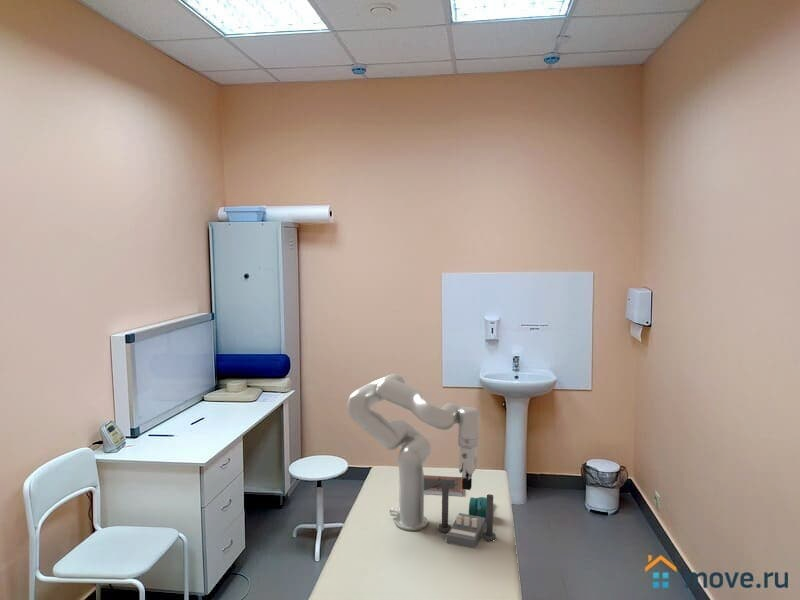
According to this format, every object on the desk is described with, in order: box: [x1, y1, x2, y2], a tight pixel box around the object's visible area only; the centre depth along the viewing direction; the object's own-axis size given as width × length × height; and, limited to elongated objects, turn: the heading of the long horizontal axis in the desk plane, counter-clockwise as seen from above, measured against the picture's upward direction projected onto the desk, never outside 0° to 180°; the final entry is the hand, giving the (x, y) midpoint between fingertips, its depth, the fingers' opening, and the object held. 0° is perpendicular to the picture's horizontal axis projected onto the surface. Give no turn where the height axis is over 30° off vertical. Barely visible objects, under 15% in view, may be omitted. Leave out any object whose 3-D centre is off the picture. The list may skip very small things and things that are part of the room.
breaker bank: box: [455, 514, 478, 528], centre depth 209 cm, size 8×1×3 cm, turn 69°
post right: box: [481, 493, 497, 542], centre depth 205 cm, size 5×5×16 cm
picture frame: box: [424, 474, 463, 497], centre depth 250 cm, size 16×2×22 cm
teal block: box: [468, 496, 487, 524], centre depth 227 cm, size 18×7×8 cm, turn 163°
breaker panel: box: [446, 512, 486, 549], centre depth 209 cm, size 10×18×3 cm, turn 159°
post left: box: [437, 487, 452, 534], centre depth 211 cm, size 5×5×16 cm
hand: (466, 488), depth 208 cm, fingers closed
